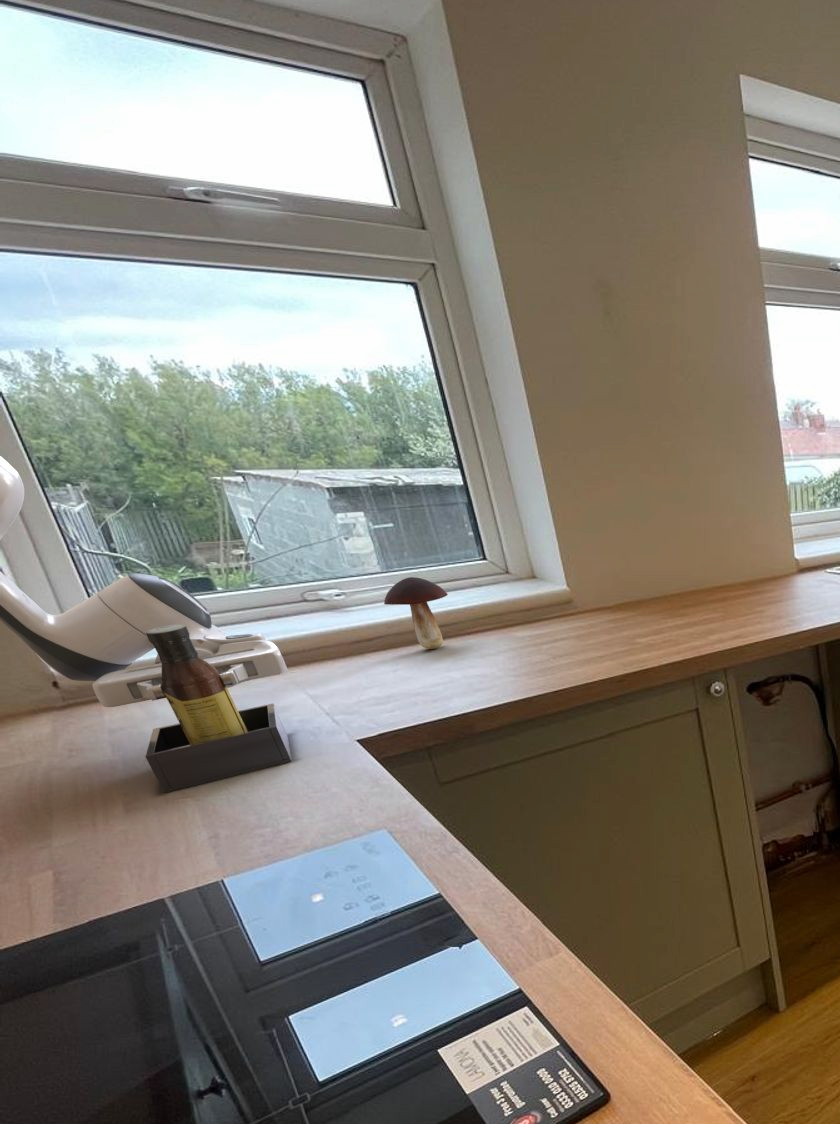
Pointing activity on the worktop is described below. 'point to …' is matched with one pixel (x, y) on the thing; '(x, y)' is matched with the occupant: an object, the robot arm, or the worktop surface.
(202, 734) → the sauce bottle
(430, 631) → the decorative mushroom
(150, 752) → the open rectangular box
